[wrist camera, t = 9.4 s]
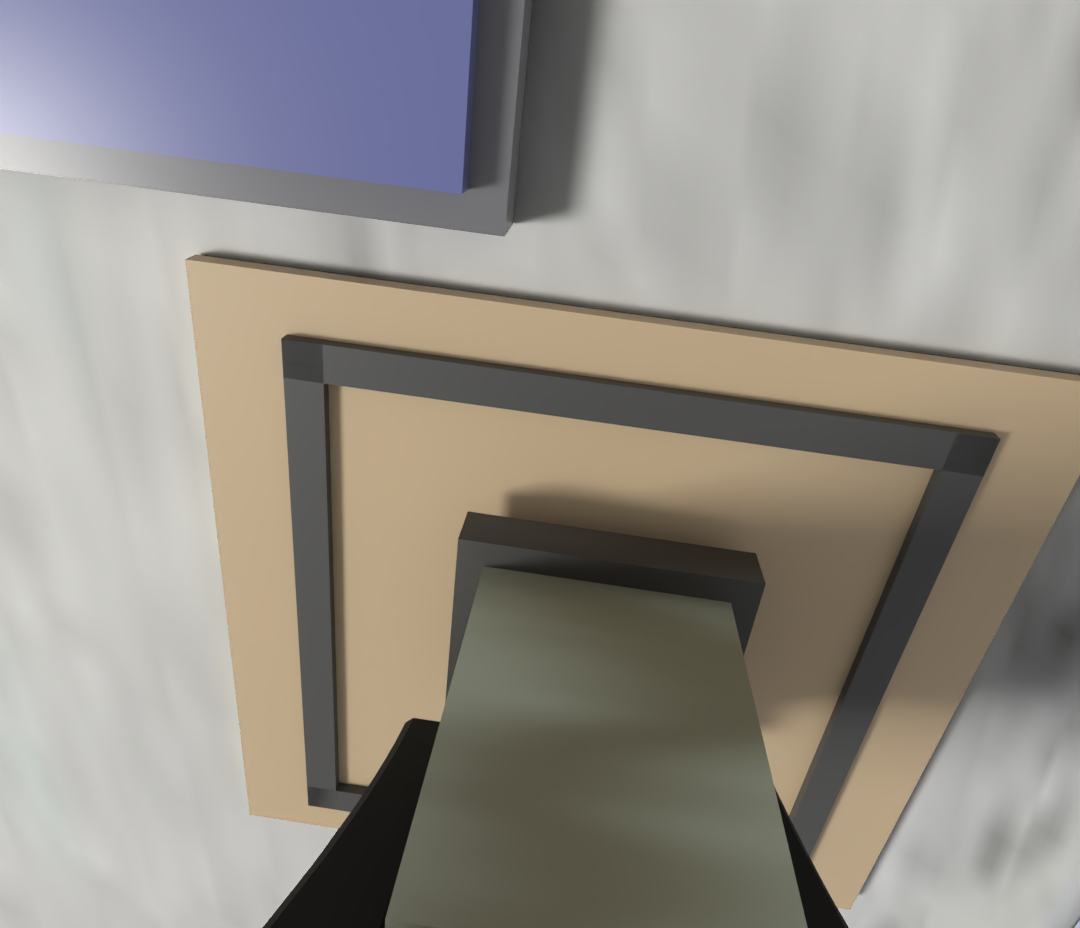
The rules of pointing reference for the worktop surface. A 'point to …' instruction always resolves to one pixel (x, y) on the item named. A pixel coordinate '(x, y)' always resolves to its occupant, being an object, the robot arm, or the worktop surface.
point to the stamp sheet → (609, 515)
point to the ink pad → (275, 101)
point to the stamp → (597, 742)
